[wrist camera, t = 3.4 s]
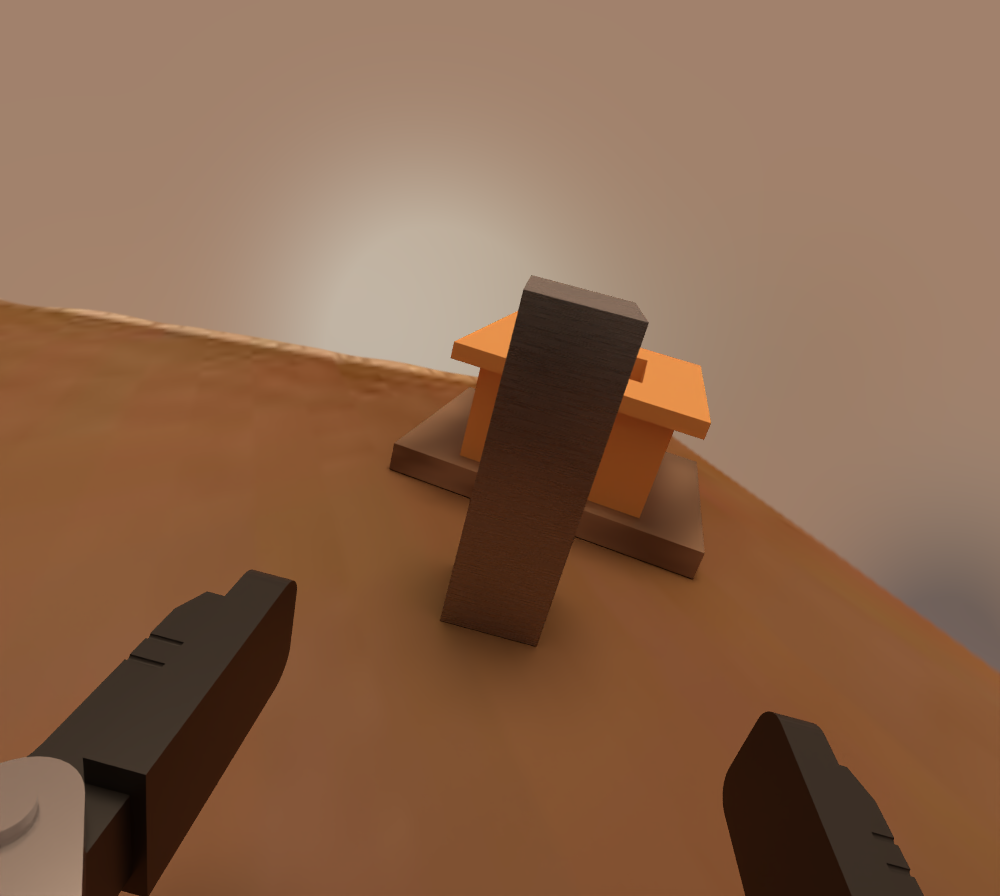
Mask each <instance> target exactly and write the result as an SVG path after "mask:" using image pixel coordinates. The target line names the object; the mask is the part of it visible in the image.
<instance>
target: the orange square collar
mask: <svg viewBox="0 0 1000 896" xmlns="http://www.w3.org/2000/svg"><path fill="white" fill-rule="evenodd" d="M517 313H518V311H517V312H515V313H513V314H511V315H509V316H507V317H504V318H502V319H500V320H498V321H496V322H494V323H492V324H490V325H488V326H486V327H484V328H482V329H480V330H477V331H475V332H473V333H471V334H469V335H467V336H465V337H463V338H461V339H459V340H457V341H455V342H454V345H453V349H452V355H451V358H452V359H455V360H458V361H462V362H465V363H468V364H471V365H474V366H477V367H480V372H479V376H478V380H477V385H476V389H475V393H474V397H473V402H472V406H471V410H470V414H469V419H468V423H467V427H466V431H465V436H464V440H463V444H462V448H461V452H460V455H461V456H464V457H466V458H469V459H472V460H475V461H478V462H480V460H481V456H482V452H483V448H484V444H485V440H486V436H487V432H488V428H489V424H490V420H491V416H492V413H493V409H494V405H495V401H496V397H497V393H498V389H499V385H500V381H501V377H502V373H503V369H504V365H505V361H506V357H507V353H508V349H509V345H510V341H511V337H512V333H513V329H514V325H515V321H516V317H517ZM710 424H711V421H710V415H709V410H708V404H707V398H706V393H705V387H704V382H703V376H702V371H701V366H699V365H696V364H692V363H689V362H686V361H682V360H679V359H676V358H673V357H669V356H666V355H663V354H659V353H656V352H652V351H649V350H646V349H643V348H640V349H639V352H638V355H637V358H636V361H635V364H634V367H633V370H632V372H631V375H630V378H629V381H628V384H627V387H626V390H625V393H624V396H623V398H622V401H621V404H620V407H619V410H618V413H617V416H616V419H615V421H614V424H613V427H612V430H611V433H610V436H609V439H608V442H607V445H606V447H605V450H604V453H603V456H602V459H601V462H600V465H599V468H598V470H597V473H596V476H595V479H594V482H593V485H592V488H591V491H590V494H589V496H588V499H587V500H589V501H591V502H594V503H597V504H600V505H603V506H606V507H608V508H611V509H614V510H617V511H620V512H623V513H625V514H628V515H631V516H634V517H637V518H640V515H641V513H642V510H643V508H644V505H645V502H646V500H647V497H648V495H649V492H650V490H651V487H652V485H653V482H654V480H655V477H656V475H657V472H658V470H659V467H660V465H661V462H662V459H663V457H664V454H665V452H666V449H667V447H668V444H669V442H670V439H671V437H672V434H673V432H674V430H675V431H678V432H682V433H685V434H688V435H691V436H694V437H697V438H700V439H703V440H704V439H705V436H706V433H707V432H708V429H709V427H710Z"/></svg>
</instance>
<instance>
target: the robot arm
mask: <svg viewBox="0 0 1000 896" xmlns="http://www.w3.org/2000/svg"><path fill="white" fill-rule="evenodd" d="M296 593H297V585H296V582H295V581H293V580H289V579H286V578H282V577H278V576H274V575H271V574H267V573H263V572H260V571H256V570H249V571H248V572H246V573H245V574H244V575H243V576H242V577H241V578H240V580H239V581H238V582H237V583H236V584H235V585H234V586H233V587H232V589H231V590H230V591H229V592H228V593H227V594H226V595H225V596H222V595H218V594H214V593H211V592H205V593H203V594H202V595H200V596H198V597H196V598H194V599H192V600H190V601H188V602H186V603H185V604H183V605H181V606H179V607H177V608H175V609H174V610H173V611H172V612H171V613H170V614H169V615H168V616H167V617H166V618H165V619H164V620H163V621H162V622H161V623H160V624H159V625H158V626H157V627H156V628H155V629H154V630H153V631H152V632H151V634H150V637H149V638H148V639H147V638H145V639H144V640H143V641H142V642H141V643H140V645H139V646H138V647H137V648H136V649H135V650H134V651H133V652H132V653H131V654H130V657H129V658H128V660H124V661H123V662H122V663H121V664H120V665H119V666H118V667H117V668H116V669H115V670H114V671H113V672H112V673H111V674H110V675H109V676H108V677H107V678H106V679H105V680H104V681H103V682H102V683H101V684H100V685H99V686H98V687H97V688H96V689H95V690H94V691H93V692H92V693H91V695H90V696H89V697H88V698H87V699H86V700H85V701H84V702H83V703H82V704H81V705H80V706H79V707H78V708H77V709H76V710H75V711H74V712H73V713H72V714H71V715H70V716H69V717H68V718H67V719H66V720H65V721H64V722H63V723H62V724H61V725H60V726H59V727H58V728H57V729H56V730H55V731H54V732H53V733H52V734H51V735H50V736H49V737H48V738H47V739H46V740H45V741H44V742H43V743H42V744H41V745H40V746H39V747H38V748H37V749H36V750H35V751H34V752H33V753H31V754H30V755H29V756H27V757H24V758H19V759H13V760H10V761H6V762H3V763H0V896H118V895H119V893H120V892H121V891H124V892H128V893H132V894H135V895H139V896H149V895H150V893H151V891H152V890H153V888H154V886H155V885H156V883H157V882H158V880H159V878H160V877H161V875H162V873H163V872H164V870H165V868H166V867H167V865H168V863H169V862H170V860H171V859H172V857H173V855H174V854H175V852H176V850H177V849H178V847H179V845H180V844H181V842H182V841H183V839H184V837H185V836H186V834H187V832H188V831H189V829H190V827H191V826H192V824H193V822H194V821H195V819H196V818H197V816H198V814H199V813H200V811H201V809H202V808H203V806H204V804H205V803H206V801H207V800H208V798H209V796H210V795H211V793H212V791H213V790H214V788H215V786H216V785H217V783H218V781H219V780H220V778H221V777H222V775H223V773H224V772H225V770H226V768H227V767H228V765H229V763H230V762H231V760H232V758H233V757H234V755H235V754H236V752H237V750H238V749H239V747H240V745H241V744H242V742H243V740H244V739H245V737H246V736H247V734H248V732H249V731H250V729H251V727H252V726H253V724H254V722H255V721H256V719H257V717H258V716H259V714H260V713H261V711H262V709H263V708H264V706H265V704H266V703H267V701H268V699H269V698H270V696H271V695H272V693H273V691H274V690H275V688H276V686H277V684H278V682H279V680H280V678H281V676H282V673H283V671H284V668H285V665H286V662H287V659H288V655H289V650H290V643H291V634H292V626H293V618H294V610H295V601H296ZM723 808H724V813H725V818H726V822H727V825H728V829H729V833H730V837H731V841H732V845H733V849H734V853H735V857H736V861H737V865H738V869H739V872H740V876H741V880H742V884H743V888H744V892H745V896H924V895H923V893H922V891H921V889H920V887H919V885H918V883H917V881H916V879H915V878H914V877H911V876H910V873H909V871H910V868H909V866H908V864H907V862H906V860H905V858H904V856H903V854H902V852H901V850H900V848H899V846H898V845H895V844H894V841H893V840H894V837H893V835H892V833H891V831H890V829H889V827H888V825H887V823H886V821H885V819H884V817H883V815H882V813H881V811H880V809H879V807H878V806H877V804H876V802H875V800H874V799H873V798H872V797H871V796H870V794H869V793H868V792H867V791H866V790H865V788H864V787H863V786H862V785H861V784H860V782H859V781H858V780H857V779H856V778H855V776H854V775H853V774H852V773H851V772H850V770H849V769H848V768H847V767H844V766H841V765H839V764H838V762H837V760H836V758H835V756H834V754H833V752H832V749H831V747H830V745H829V743H828V741H827V739H826V737H825V735H824V733H823V732H822V730H821V729H820V728H819V727H818V726H817V725H816V724H814V723H810V722H807V721H803V720H799V719H796V718H792V717H788V716H785V715H781V714H777V713H774V712H765V713H763V714H762V715H761V716H760V717H759V719H758V720H757V722H756V724H755V725H754V727H753V729H752V730H751V732H750V734H749V735H748V737H747V739H746V741H745V742H744V744H743V746H742V747H741V749H740V751H739V752H738V754H737V756H736V757H735V759H734V761H733V763H732V764H731V766H730V768H729V769H728V771H727V774H726V777H725V781H724V786H723Z"/></svg>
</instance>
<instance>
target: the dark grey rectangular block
mask: <svg viewBox="0 0 1000 896" xmlns="http://www.w3.org/2000/svg"><path fill="white" fill-rule="evenodd" d="M648 323H649V322H648V321H647V319H646V318H645V317H644V315H643V313H642V312H641V311H640V309H639V308H638V306H637V305H636V303H634V302H630V301H626V300H623V299H619V298H615V297H612V296H607V295H604V294H600V293H597V292H593V291H589V290H585V289H582V288H578V287H574V286H570V285H566V284H563V283H559V282H555V281H552V280H548V279H543V278H540V277H536V276H532V275H531V277H530V279H529V281H528V282H527V284H526V286H525V288H524V290H523V294H522V298H521V302H520V306H519V310H518V313H517V317H516V321H515V325H514V329H513V333H512V337H511V341H510V345H509V349H508V353H507V357H506V361H505V365H504V369H503V373H502V377H501V381H500V385H499V389H498V393H497V397H496V401H495V405H494V409H493V413H492V416H491V420H490V424H489V428H488V432H487V436H486V440H485V444H484V448H483V452H482V456H481V460H480V464H479V468H478V472H477V476H476V480H475V484H474V488H473V492H472V496H471V500H470V504H469V508H468V512H467V516H466V520H465V523H464V527H463V531H462V535H461V539H460V543H459V547H458V551H457V555H456V559H455V563H454V567H453V571H452V575H451V579H450V583H449V587H448V591H447V595H446V599H445V603H444V607H443V611H442V615H441V619H440V621H444V622H448V623H451V624H455V625H459V626H463V627H466V628H470V629H474V630H477V631H481V632H485V633H488V634H492V635H496V636H499V637H503V638H507V639H511V640H514V641H518V642H522V643H525V644H529V645H533V646H537V643H538V641H539V638H540V635H541V632H542V629H543V626H544V623H545V620H546V617H547V615H548V612H549V609H550V606H551V603H552V600H553V597H554V594H555V592H556V589H557V586H558V583H559V580H560V577H561V574H562V571H563V568H564V566H565V563H566V560H567V557H568V554H569V551H570V548H571V545H572V543H573V540H574V537H575V534H576V531H577V528H578V525H579V522H580V519H581V517H582V514H583V511H584V508H585V505H586V502H587V499H588V496H589V494H590V491H591V488H592V485H593V482H594V479H595V476H596V473H597V470H598V468H599V465H600V462H601V459H602V456H603V453H604V450H605V447H606V445H607V442H608V439H609V436H610V433H611V430H612V427H613V424H614V421H615V419H616V416H617V413H618V410H619V407H620V404H621V401H622V398H623V396H624V393H625V390H626V387H627V384H628V381H629V378H630V375H631V372H632V370H633V367H634V364H635V361H636V358H637V355H638V352H639V349H640V347H641V343H642V341H643V338H644V335H645V332H646V329H647V326H648Z"/></svg>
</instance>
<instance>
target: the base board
mask: <svg viewBox="0 0 1000 896" xmlns="http://www.w3.org/2000/svg"><path fill="white" fill-rule="evenodd" d="M474 393H475V389H474V388H471V387H469V388H468V389H467V390H465V391H464V392H463V393H461V394H460V395H459V396H457V397H456V398H455V399H453V400H452V401H450V402H449V403H448V404H446V405H445V406H444V407H442V408H441V409H440V410H438V411H437V412H436V413H434V414H433V415H431V416H430V417H429V418H427V419H426V420H425V421H423V422H422V423H421V424H419V425H418V426H417V427H415V428H414V429H413V430H411V431H410V432H408V433H407V434H406V435H404V436H403V437H402V438H400V439H399V440H398V441H396V442H395V443H394V447H393V452H392V458H391V463H390V469H392V470H395V471H397V472H400V473H403V474H406V475H408V476H411V477H414V478H417V479H419V480H422V481H425V482H428V483H430V484H433V485H436V486H439V487H441V488H444V489H447V490H450V491H452V492H455V493H458V494H461V495H463V496H466V497H469V498H471V496H472V492H473V488H474V484H475V480H476V476H477V472H478V468H479V464H480V462H478V461H475V460H472V459H469V458H466V457H464V456H461V455H460V452H461V448H462V444H463V440H464V436H465V431H466V427H467V423H468V419H469V414H470V410H471V406H472V402H473V397H474ZM575 536H576V537H579V538H582V539H584V540H587V541H590V542H593V543H595V544H598V545H601V546H604V547H606V548H609V549H612V550H615V551H617V552H620V553H623V554H625V555H628V556H631V557H634V558H636V559H639V560H642V561H645V562H647V563H650V564H653V565H656V566H658V567H661V568H664V569H667V570H669V571H672V572H675V573H678V574H680V575H683V576H686V577H689V578H691V579H693V577H694V575H695V573H696V571H697V569H698V567H699V564H700V562H701V560H702V558H703V556H704V554H705V552H704V540H703V529H702V518H701V506H700V495H699V484H698V472H697V462H695V461H692V460H689V459H686V458H683V457H680V456H677V455H674V454H671V453H668V452H665V454H664V457H663V459H662V462H661V465H660V467H659V470H658V472H657V475H656V477H655V480H654V482H653V485H652V487H651V490H650V492H649V495H648V497H647V500H646V502H645V505H644V508H643V510H642V513H641V515H640V518H637V517H634V516H631V515H628V514H625V513H623V512H620V511H617V510H614V509H611V508H608V507H606V506H603V505H600V504H597V503H594V502H591V501H589V500H587V502H586V505H585V508H584V511H583V514H582V517H581V519H580V522H579V525H578V528H577V531H576V534H575Z"/></svg>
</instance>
